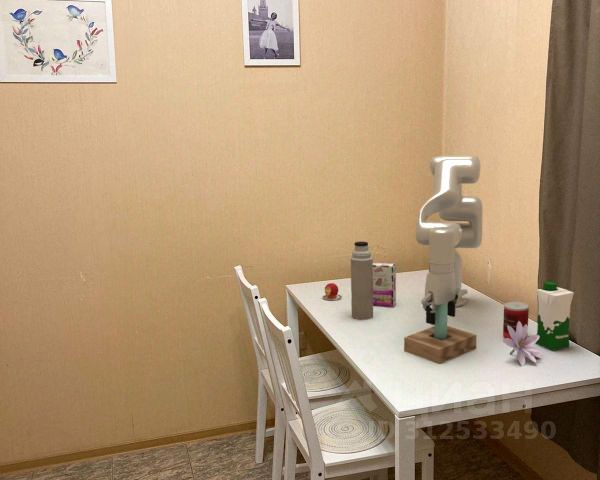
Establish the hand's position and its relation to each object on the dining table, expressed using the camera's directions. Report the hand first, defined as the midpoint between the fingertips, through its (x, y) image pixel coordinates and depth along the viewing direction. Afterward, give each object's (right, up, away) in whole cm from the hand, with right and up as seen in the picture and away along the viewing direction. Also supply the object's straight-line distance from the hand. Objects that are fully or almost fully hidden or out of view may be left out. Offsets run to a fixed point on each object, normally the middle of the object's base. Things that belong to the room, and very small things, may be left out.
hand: (440, 319), depth 196 cm
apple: (-31, +1, +59) cm, 66 cm away
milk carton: (+36, -9, +2) cm, 37 cm away
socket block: (0, -10, +1) cm, 10 cm away
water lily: (+23, -11, -8) cm, 27 cm away
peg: (0, -10, +2) cm, 10 cm away
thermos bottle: (-21, -3, +35) cm, 41 cm away
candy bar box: (-13, 0, +48) cm, 50 cm away
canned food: (+27, -7, +10) cm, 29 cm away
